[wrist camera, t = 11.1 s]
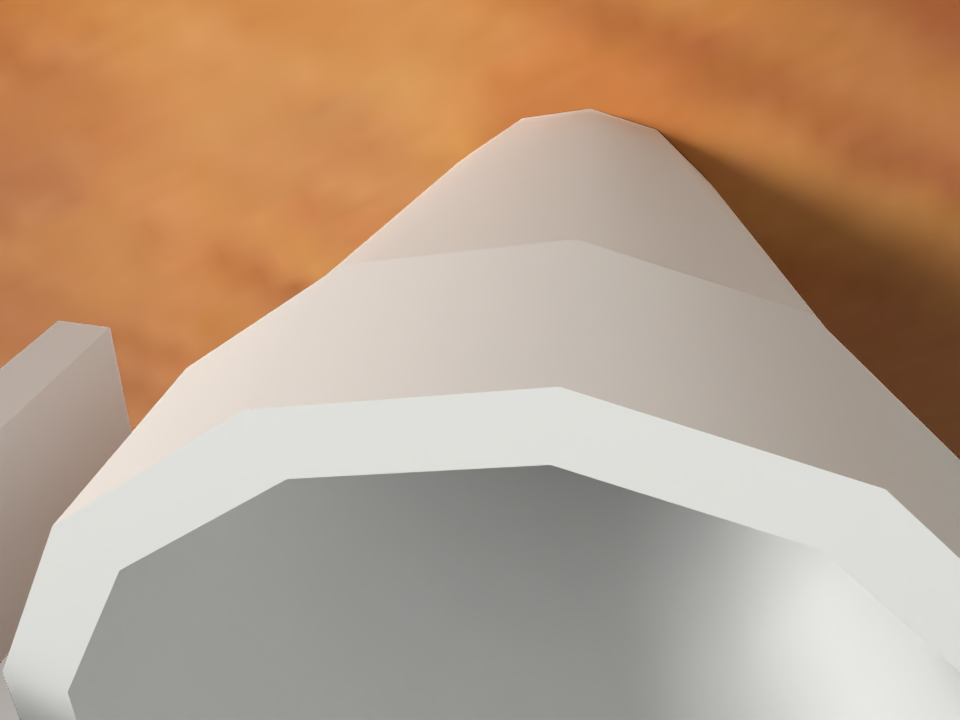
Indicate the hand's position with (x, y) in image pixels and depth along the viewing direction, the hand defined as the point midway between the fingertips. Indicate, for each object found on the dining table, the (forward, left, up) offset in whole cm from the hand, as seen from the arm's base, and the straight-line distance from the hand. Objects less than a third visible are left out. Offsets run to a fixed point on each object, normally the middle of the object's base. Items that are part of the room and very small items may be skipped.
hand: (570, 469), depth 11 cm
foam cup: (0, 0, -8) cm, 8 cm away
